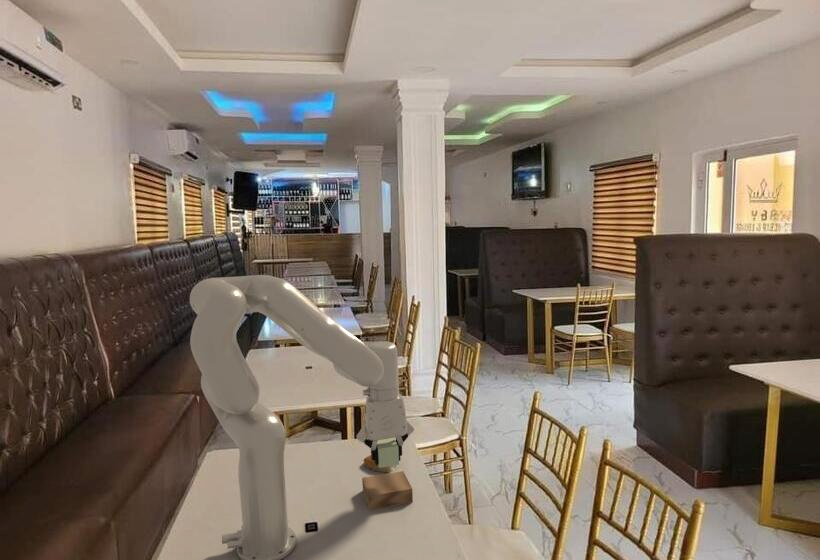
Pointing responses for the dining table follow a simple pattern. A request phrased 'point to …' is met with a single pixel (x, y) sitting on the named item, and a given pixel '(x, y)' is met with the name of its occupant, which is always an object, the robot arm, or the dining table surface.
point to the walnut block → (387, 490)
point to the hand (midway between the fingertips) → (386, 459)
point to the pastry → (373, 466)
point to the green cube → (387, 452)
